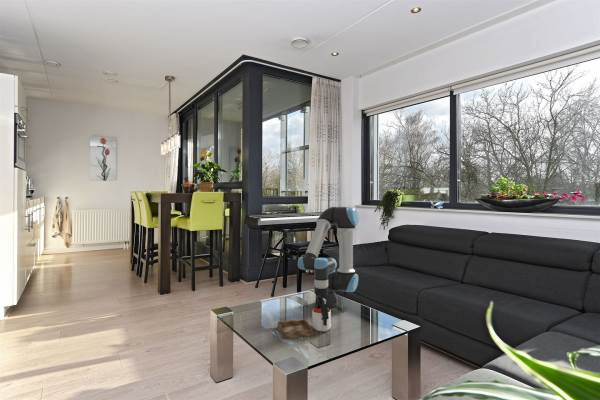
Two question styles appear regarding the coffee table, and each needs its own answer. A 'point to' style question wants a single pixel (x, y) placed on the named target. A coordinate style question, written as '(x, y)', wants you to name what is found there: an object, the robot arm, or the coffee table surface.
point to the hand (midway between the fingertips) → (321, 327)
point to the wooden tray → (295, 329)
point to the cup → (317, 319)
